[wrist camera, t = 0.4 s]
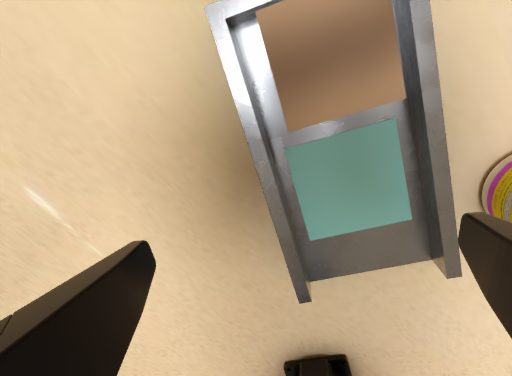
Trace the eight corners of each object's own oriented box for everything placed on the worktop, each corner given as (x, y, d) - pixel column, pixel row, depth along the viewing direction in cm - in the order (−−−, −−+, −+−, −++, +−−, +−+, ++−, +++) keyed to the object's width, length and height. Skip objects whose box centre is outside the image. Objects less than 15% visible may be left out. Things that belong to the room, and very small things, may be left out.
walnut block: (374, 93, 20) (406, 98, 15) (289, 119, 21) (288, 132, 16) (357, -3, 18) (385, -40, 13) (265, 31, 20) (254, 11, 14)
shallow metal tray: (439, 250, 25) (462, 276, 21) (298, 276, 27) (299, 303, 24) (397, -53, 18) (420, -82, 15) (217, 18, 21) (203, 6, 17)
